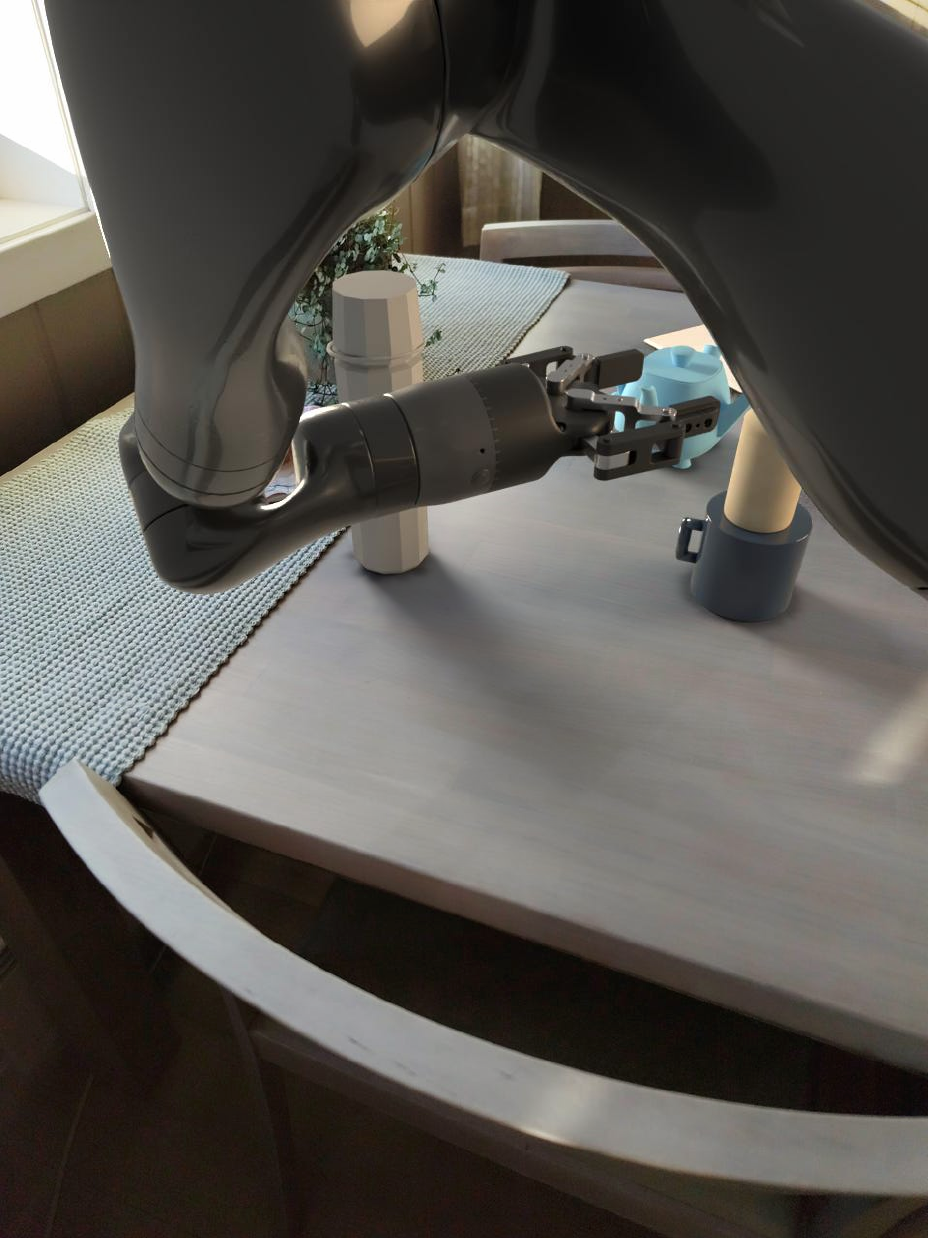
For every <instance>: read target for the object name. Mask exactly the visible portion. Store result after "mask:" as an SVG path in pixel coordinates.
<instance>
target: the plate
mask: <svg viewBox="0 0 928 1238" xmlns="http://www.w3.org/2000/svg"><path fill="white" fill-rule="evenodd" d="M643 343H644V344H645V346H647V347H649V348H652V349H654V351H656V350H659V349H662V348H666V347H675V346H689V347H691V348H694V349H695V350H696V351H698V352H702V351H703V349H704V347H705V345H713V346H716V344H715V342H714V340H713V339H712V337H711V335H710V333H709V332H708V330H707V328H706V327H705V325H704V324H700V325H696V326H692V327H687V328H683V329H680V330H677V331H673V332H667V333H665V334H661V335H657V336H652V337H648V338H646V339H644V340H643ZM716 347H717V346H716ZM720 360H721V361H722V363H723V366H724V368H725V372H726V376H727V380H728V384H729V389H730V391H732V392H734V393H737V394H738V395H741V394H742V393H743V392H742V390H741V389H740V387H739V385H738V383H737V381H736V380H735V378H734V376H733V374H732V373H731V371H730V369H729V367H728V365H727V364H726V362H725V360H724V358H723V356H722V355H721V356H720Z"/></svg>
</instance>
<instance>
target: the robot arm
mask: <svg viewBox="0 0 928 1238" xmlns="http://www.w3.org/2000/svg"><path fill="white" fill-rule="evenodd" d="M42 4H43V11H44V15H45V16H44V17H45V19H46V25H47V30H48V35H49V39H50V45H51V48H52V53H53V57H54V62H55V65H56V69H57V74H58V77H59V82H60V85H61V89H62V92H63V95H64V96H63V97H64V100H65V103H66V108H67V111H68V114H69V117H70V122H71V125H72V129H73V133H74V136H75V140H76V143H77V146H78V150H79V154H80V158H81V161H82V165H83V168H84V172H85V176H86V178H87V182H88V186H89V189H90V193H91V197H92V202H93V205H94V209H95V213H96V216H97V219H98V220H97V221H98V224H99V227H100V230H101V233H102V237H103V240H104V242H105V246H106V249H107V253H108V257H109V259H110V264H111V266H112V267H111V268H112V270H113V273H114V276H115V279H116V280H115V281H116V283H117V286H118V289H119V292H120V295H121V298H122V301H123V304H124V308H125V311H126V316H127V319H128V323H129V328H130V332H131V336H132V342H133V343H132V344H133V352H134V368H135V369H134V397H133V398H134V400H133V401H134V404H133V408H134V409H133V412H132V413H131V415H130V416H129V418H128V419H127V420H126V422H125V423H124V424H123V425H122V427H121V429H120V431H119V433H118V441H117V444H118V456H119V462H120V467H121V470H122V474H123V478H124V481H125V485H126V488H127V490H128V493H129V496H130V499H131V503H132V507H133V510H134V512H135V515H136V518H137V521H138V525H139V528H140V531H141V534H142V536H143V541H144V544H145V548H146V550H147V554H148V557H149V560H150V562H151V565H152V568H153V570H154V572H155V573H156V576H157V577H158V578H159V580H161V582H163V584H165V585H166V586H168V587H169V588H171V589H173V590H176V591H179V592H181V593H186V594H191V595H204V596H207V595H215V594H220V593H223V592H227V591H230V590H232V589H234V588H237V587H239V586H240V585H243V584H244V583H246V582H248V581H250V580H252V579H253V578H255V577H257V576H258V575H260V574H261V573H263V572H265V571H267V570H268V569H269V568H271V567H273V566H275V565H276V564H278V563H279V562H280V561H282V560H284V559H285V558H287V557H289V556H291V555H292V554H295V553H296V552H297V551H299V550H302V549H303V548H305V547H307V546H309V545H311V544H313V543H314V542H316V541H318V540H321V539H323V538H325V537H327V536H330V535H331V534H334V533H335V532H337V531H340V530H342V529H345V528H347V527H351V525H353V524H356V523H360V522H364V521H367V520H371V519H375V518H379V517H383V516H386V515H390V514H394V513H398V512H402V511H405V510H409V509H414V508H418V507H425V506H427V507H434V506H435V507H436V506H442V505H447V504H452V503H456V502H459V501H462V500H466V499H467V500H468V499H470V498H475V497H478V496H483V495H486V494H490V493H494V492H498V491H502V490H505V489H509V488H513V487H517V486H521V485H525V484H528V483H531V482H535V481H538V480H540V479H542V478H543V477H545V476H546V474H548V472H549V471H550V469H551V468H552V467H553V465H554V464H555V463H556V462H558V461H559V459H561V458H566V457H567V458H568V457H587V458H588V459H589V460H591V461H592V462H593V464H594V465H593V473H592V475H593V478H594V479H596V480H598V481H601V482H606V481H607V482H608V481H611V480H617V479H621V478H624V477H629V476H634V475H638V474H643V473H647V472H651V471H656V470H659V469H664V468H668V467H673V465H677V464H679V463H680V459H681V453H682V447H683V441H684V439H685V438H689V437H693V436H697V435H701V434H703V433H708V432H711V431H712V430H714V429H715V427H716V425H717V422H718V417H719V412H720V407H721V402H720V400H718V399H717V398H715V397H713V396H711V395H710V396H705V397H701V398H697V399H693V400H689V401H685V402H681V403H677V404H673V405H669V406H668V407H660V406H648V405H641V404H640V403H639V401H638V399H637V398H635V397H629V396H616V395H611V394H608V393H605V392H603V391H602V390H606V389H609V388H614V387H617V386H619V385H623V384H626V385H627V383H632V382H636V381H638V380H639V379H640V378H641V376H642V371H643V364H644V357H645V354H644V352H643V351H641V350H639V349H637V348H631V349H626V350H621V351H618V352H617V351H616V352H612V353H608V354H604V355H599V356H594V354H592V353H588V352H583V353H579V354H577V355H575V354H574V348H573V347H572V346H569V345H560V346H556V347H551V348H547V349H543V350H539V351H535V352H530V353H527V354H523V355H518V356H515V357H511V358H510V357H509V358H506V359H502V360H500V361H499V362H498V365H497V366H491V367H486V368H482V369H476V370H472V371H467V372H462V373H458V374H454V375H448V376H444V377H438V378H435V379H429V380H423V382H420V383H416V384H413V385H410V386H407V387H405V388H402V389H400V390H397V391H394V392H391V393H387V394H384V395H378V396H373V397H369V398H364V399H359V400H355V401H350V402H345V403H342V404H341V403H340V404H339V403H336V404H331V405H327V406H323V407H319V408H315V409H312V410H309V411H307V412H305V413H304V409H305V406H306V400H307V395H308V389H309V364H308V363H309V361H308V357H307V353H306V350H305V345H304V341H303V338H302V337H301V334H300V332H299V330H298V328H297V325H296V323H295V322H294V320H293V318H292V317H291V316H290V314H289V313H290V311H291V309H293V305H294V304H295V302H296V301H297V299H298V298H299V296H300V294H301V293H302V291H303V290H304V289H305V287H306V285H307V283H308V282H309V281H310V279H311V277H312V275H314V273H315V272H316V270H317V269H318V268H319V266H320V265H321V263H322V262H323V261H324V260H325V258H326V257H327V255H328V254H329V253H330V252H331V250H332V249H333V248H334V246H335V245H336V244H337V243H338V242H339V240H340V239H341V238H342V237H343V236H344V235H345V234H347V232H348V231H349V230H351V229H352V227H354V226H355V225H357V224H358V223H360V222H362V221H365V220H366V219H369V218H371V217H373V216H374V215H376V214H378V213H379V212H381V211H383V210H384V209H385V208H386V207H388V206H389V205H390V204H392V202H394V201H395V200H396V199H397V198H398V197H399V196H400V195H401V194H403V193H404V192H405V191H406V190H407V189H408V188H409V187H410V186H411V185H412V184H413V183H415V182H416V181H417V180H418V179H419V178H420V177H422V175H423V174H424V173H426V172H427V171H428V170H429V169H430V168H431V167H432V166H433V165H435V163H436V162H437V161H439V160H440V159H441V157H443V156H444V155H445V154H446V153H447V152H448V151H449V150H450V149H451V148H452V147H453V146H454V145H456V144H457V143H458V142H459V141H460V140H461V139H462V138H463V137H464V136H468V137H471V138H475V139H478V140H480V141H483V142H486V143H488V144H490V145H491V146H494V147H496V148H498V149H500V150H502V151H504V152H506V153H508V154H509V155H512V156H514V157H516V158H517V159H520V160H522V161H523V162H525V163H527V164H528V165H531V166H532V167H534V168H535V169H537V170H539V171H540V172H542V173H544V174H546V175H547V176H548V177H550V178H552V179H553V180H554V181H556V182H557V183H558V184H560V185H562V186H564V187H565V188H566V189H568V190H570V191H571V192H572V193H574V194H575V195H577V196H578V197H580V198H581V199H583V200H584V201H586V202H587V203H589V204H590V205H592V206H594V207H595V208H596V209H597V210H599V211H601V212H602V213H604V214H605V215H607V216H608V217H610V219H612V220H613V221H614V222H615V223H616V224H618V225H619V226H620V227H622V229H624V230H625V231H626V232H628V233H629V234H630V235H631V236H632V237H634V238H635V239H636V240H637V241H638V242H639V243H640V245H642V246H643V247H644V248H645V249H646V251H648V253H649V254H650V255H652V256H653V257H654V259H656V260H657V261H658V263H659V264H660V265H661V266H662V267H663V269H664V270H665V271H666V272H667V273H668V275H669V276H670V277H671V278H672V280H673V281H674V282H675V283H676V285H677V286H678V288H680V289H681V290H682V292H683V294H684V295H685V296H686V298H687V300H688V301H689V302H690V304H691V306H692V307H693V309H694V310H695V312H696V313H697V315H698V317H699V319H700V320H701V322H702V324H703V325H705V327H706V328H707V330H708V332H709V333H710V335H711V337H712V339H713V340H714V342H715V344H716V346H717V348H718V349H719V351H720V353H721V355H722V356H723V358H724V360H725V362H726V364H727V365H728V367H729V369H730V371H731V373H732V374H733V376H734V378H735V380H736V381H737V383H738V385H739V387H740V389H741V390H742V392H743V394H744V395H745V397H746V399H747V401H748V402H749V404H750V408H751V409H753V411H754V413H755V414H756V416H757V418H758V419H759V421H760V423H761V425H762V426H763V428H764V430H765V431H766V433H767V434H768V436H769V437H770V439H771V441H772V442H773V444H774V445H775V447H776V449H777V450H778V452H779V453H780V455H781V457H782V458H783V460H784V462H785V463H786V465H787V466H788V468H789V470H790V471H791V473H792V474H793V476H794V477H795V479H796V480H797V482H798V483H799V485H800V486H801V487H802V488H801V490H803V492H804V494H805V495H806V497H808V499H809V500H810V501H811V502H812V504H813V505H814V507H815V508H816V509H817V510H818V512H819V513H820V514H821V516H822V517H823V518H824V519H825V520H826V521H827V523H828V524H829V525H830V526H831V527H832V528H833V529H834V530H835V532H836V533H837V534H838V535H839V536H840V538H842V539H843V540H845V542H847V544H849V545H850V546H851V547H852V548H853V549H854V550H855V551H857V552H858V553H859V554H860V555H861V556H862V557H864V558H865V559H867V560H868V561H869V562H871V563H872V564H873V565H875V566H876V567H877V568H879V569H880V570H882V571H883V572H884V573H886V574H887V575H888V576H890V577H891V578H892V579H894V580H895V581H897V582H899V583H900V584H901V585H903V586H905V587H908V588H909V590H911V592H913V593H915V594H916V595H918V596H920V597H921V598H923V599H924V600H926V601H927V602H928V38H927V37H925V36H924V35H922V34H920V33H918V32H917V31H915V30H913V29H911V28H909V27H907V26H905V25H904V24H901V23H900V22H898V21H896V20H894V19H892V18H891V17H889V16H888V15H885V14H884V13H883V12H880V11H879V10H877V9H875V8H873V7H872V6H870V5H868V4H867V3H864V2H863V1H861V0H42ZM552 363H555V371H554V370H551V371H550V372H549V373H548V374H547V371H548V370H547V369H548V368H547V367H548V366H549V364H552ZM616 411H617V412H621V413H622V414H623V415H624V417H625V422H624V430H623V431H622V432H619V431H618V430H616V429H615V423H614V422H615V416H616ZM640 420H644V421H656V422H655V425H650V426H645V427H641V428H636V429H635V427H636V423H637V422H638V421H640ZM290 447H291V452H292V453H291V454H292V462H293V463H292V464H293V470H294V481H295V484H294V485H295V486H294V488H295V489H294V490H293V491H292V492H291V493H290V494H288V496H287V497H285V498H284V499H283V500H280V501H278V502H275V503H271V504H270V503H269V502H268V499H267V495H266V492H265V491H266V490H267V489H268V488H269V487H270V486H271V484H272V483H273V481H275V479H276V477H277V476H278V474H279V472H280V470H281V469H282V466H283V464H284V462H285V459H286V457H287V455H288V452H289V450H290ZM652 450H660V451H658V452H654V453H652Z"/></svg>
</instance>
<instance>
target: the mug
mask: <svg viewBox="0 0 928 1238" xmlns="http://www.w3.org/2000/svg"><path fill="white" fill-rule="evenodd" d="M727 492H728V489H727V490H724V491H721V492H719V493H717V494H716V495H714V496H713V497H711V498H710V499H709V501H707V504H706V507H705V512H704V517H703V519H700V518H694V517H689V516H685V517H683V519H682V520H681V523H680V525H679V530H678V533H677V534H678V536H677V540H676V545H675V546H676V547H675V550H674V552H675V554H674V557H675V559H676V560H677V561H680V562H684V563H690V564H693V569H692V574H691V579H690V590H691V593H692V596H693V597H694V598H695V599H696V601H697V602H698V603H699V604H700V605H701V606H703V607H704V608H705V609H706V610H708V611H709V612H711V613H714V614H715V615H718V616H720V617H722V618H726V619H728V620H732V621H733V620H734V621H739V622H748V623H749V622H750V623H751V622H752V623H754V622H755V623H756V622H757V623H758V622H764V621H768V620H769V621H770V620H773V619H776V618H777V617H779V616H781V615H782V614H783V613H785V611H786V610H788V607H789V606H790V603H791V600H792V596H793V593H794V590H795V587H796V584H797V580H798V576H799V573H800V570H801V567H802V563H803V562H804V561H803V560H804V558H805V555H806V551H807V547H808V544H809V541H810V538H811V535H812V531H813V528H814V520H813V517H812V515H811V514H810V512H809V511H808V510H807V508H806V507H804V506H803V505H802V504H801V503H799V501H798V502H797V506H796V509H795V512H794V516H793V519H792V521H791V523H790V525H789V526H788V527H787V528H785V529H783V530H781V531H778V532H771V533H761V532H754V531H749V530H746V529H743V528H741V527H738V526H736V525H735V524H733V523H732V522H731V521H730V520H728V518H727V517H726V515H725V513H724V506H725V501H726V496H727ZM693 531H695V532H696V531H697V532H700V535H699V539H698V545H697V546H698V547H697V550H696V551H692V550H689V549H690V544H691V540H692V534H693Z"/></svg>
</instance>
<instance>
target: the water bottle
mask: <svg viewBox="0 0 928 1238" xmlns="http://www.w3.org/2000/svg"><path fill="white" fill-rule="evenodd" d="M419 301H420V300H419V294H418V286H417V280H416V278H415V277H412V276H410V275H408V274H406V273H404V272H398V271H391V270H386V269H383V270H379V269H378V270H361V271H357V272H352V273H348V274H344V275H342V276H341V277H339V278H337V279H335V280H333V281H332V340H330V341H329V342H328V343H327V346H326V350H325V351H326V352H327V354H328V355H330V356H331V357H333V358H334V362H333V363H334V373H335V381H336V382H335V383H336V392H337V402H338V403H337V404H340V403H341V404H342V403H345V402H350V401H355V400H359V399H364V398H369V397H373V396H378V395H384V394H387V393H391V392H394V391H397V390H400V389H402V388H405V387H407V386H410V385H413V384H416V383H420V382H424V371H423V370H424V369H423V354H422V351H423V350H424V348H426V345H427V339H426V338H425V337H424V332H423V325H422V324H423V323H422V317H421V310H420V309H421V308H420V302H419ZM428 520H429V519H428V506H425V507H418V508H414V509H409V510H405V511H402V512H398V513H394V514H390V515H386V516H383V517H379V518H375V519H371V520H367V521H364V522H360V523H356V524H353V525H350V530H351V531H350V532H351V538H352V539H351V541H352V542H351V543H352V550H353V558H354V559H355V560H356V561H358V562H359V563H360V564H361V566H363V567H364V568H365V570H368V571H371V572H375V573H379V574H381V575H388V574H390V575H391V574H402V573H405V572H408V571H410V570H413V569H415V568H417V567H418V566H419V565H420V564H421V562H423V560H424V559H425V558H426V557H427V555H428V554H429V553H430V548H429V521H428Z"/></svg>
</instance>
